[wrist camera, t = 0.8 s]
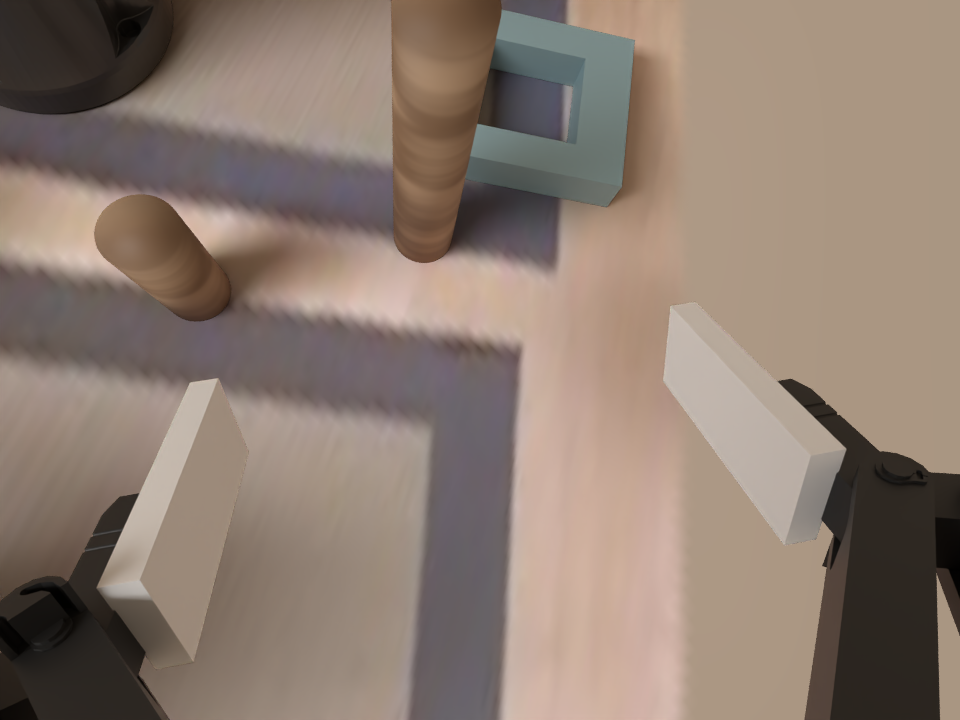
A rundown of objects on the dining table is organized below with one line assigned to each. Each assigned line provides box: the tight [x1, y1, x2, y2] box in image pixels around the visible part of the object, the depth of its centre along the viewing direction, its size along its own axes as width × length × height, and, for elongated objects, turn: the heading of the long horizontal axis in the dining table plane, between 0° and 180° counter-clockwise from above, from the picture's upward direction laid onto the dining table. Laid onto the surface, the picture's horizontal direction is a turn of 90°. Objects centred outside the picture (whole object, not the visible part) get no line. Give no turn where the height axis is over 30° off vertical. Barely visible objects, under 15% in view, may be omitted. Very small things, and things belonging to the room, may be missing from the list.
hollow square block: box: [465, 10, 635, 207], centre depth 42 cm, size 12×14×3 cm
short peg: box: [94, 194, 231, 321], centre depth 33 cm, size 4×4×9 cm
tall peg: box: [391, 0, 502, 263], centre depth 31 cm, size 4×4×20 cm
